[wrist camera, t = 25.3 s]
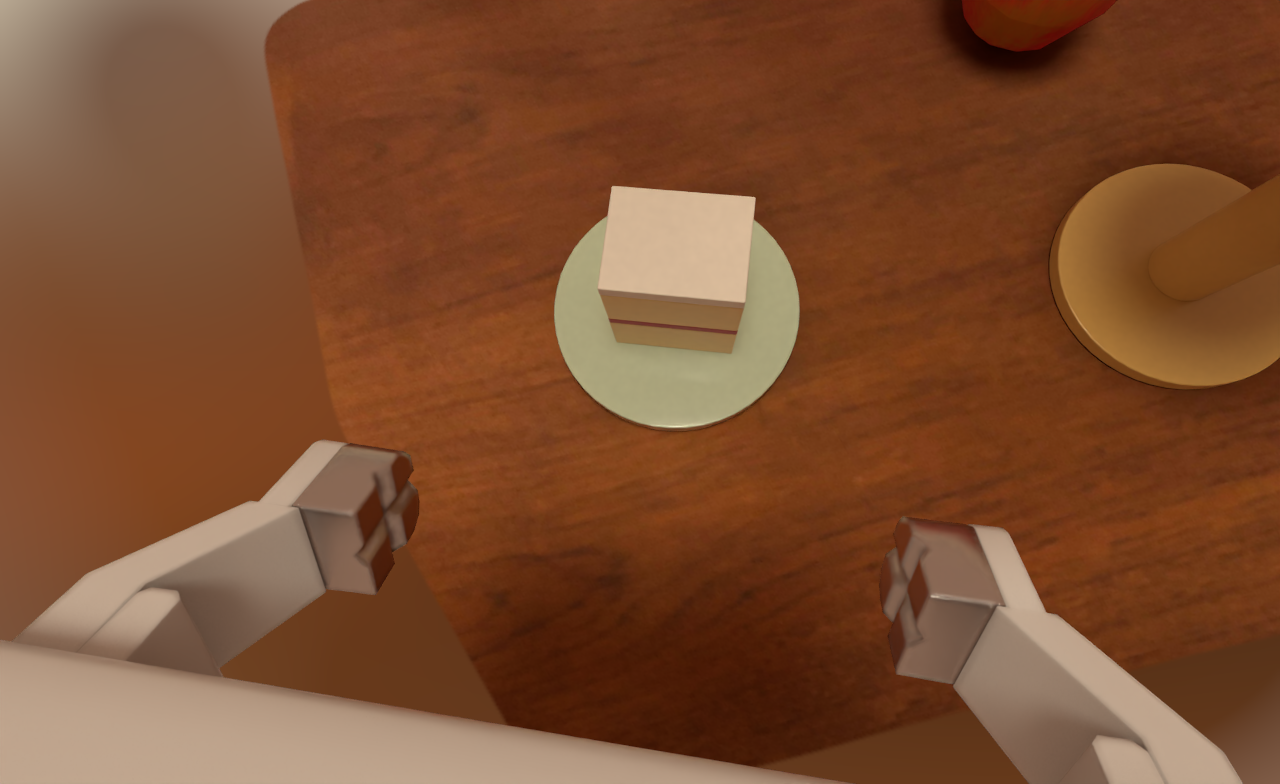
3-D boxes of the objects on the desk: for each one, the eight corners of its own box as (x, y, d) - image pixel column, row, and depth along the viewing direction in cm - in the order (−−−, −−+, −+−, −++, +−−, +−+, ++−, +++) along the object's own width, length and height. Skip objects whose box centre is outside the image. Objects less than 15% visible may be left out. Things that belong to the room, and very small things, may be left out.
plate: (758, 463, 36) (761, 461, 35) (524, 390, 38) (519, 386, 36) (823, 237, 38) (828, 228, 37) (601, 179, 40) (598, 168, 39)
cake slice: (731, 354, 36) (745, 302, 28) (616, 342, 36) (596, 289, 28) (739, 269, 37) (755, 196, 29) (627, 259, 37) (611, 185, 29)
